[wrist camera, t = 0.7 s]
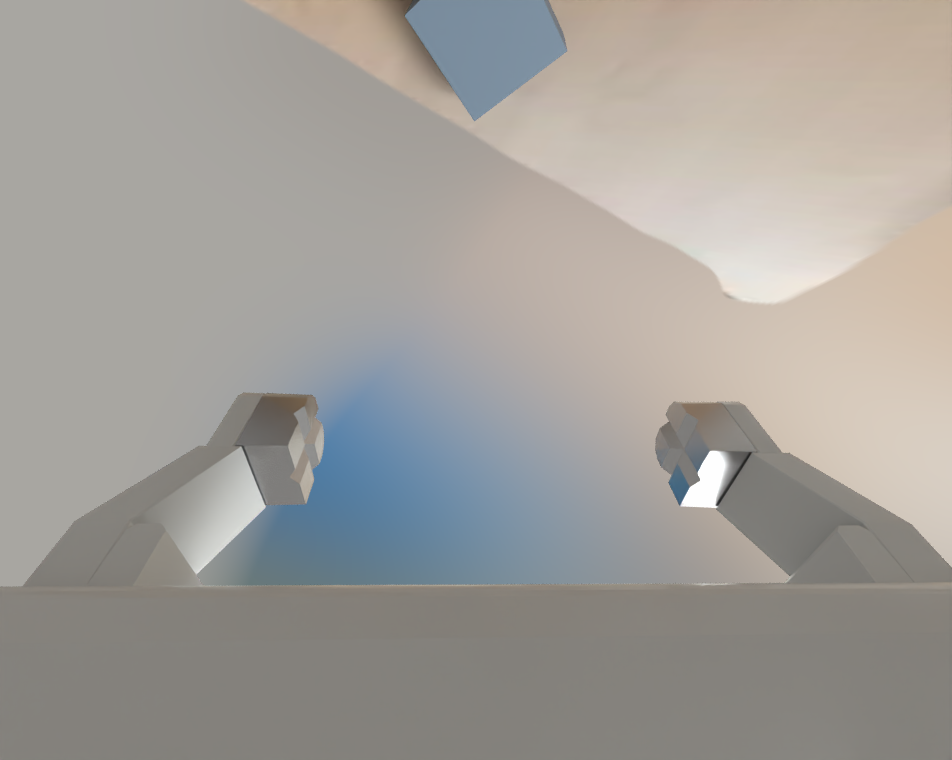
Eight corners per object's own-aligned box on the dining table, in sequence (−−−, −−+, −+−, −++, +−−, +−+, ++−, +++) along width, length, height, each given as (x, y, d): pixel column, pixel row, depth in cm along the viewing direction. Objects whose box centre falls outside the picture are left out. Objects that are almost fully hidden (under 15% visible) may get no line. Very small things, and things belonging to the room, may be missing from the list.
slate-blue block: (505, -95, 35) (504, -85, 32) (563, 32, 41) (567, 51, 38) (413, -1, 40) (404, 15, 37) (477, 100, 46) (474, 121, 43)
